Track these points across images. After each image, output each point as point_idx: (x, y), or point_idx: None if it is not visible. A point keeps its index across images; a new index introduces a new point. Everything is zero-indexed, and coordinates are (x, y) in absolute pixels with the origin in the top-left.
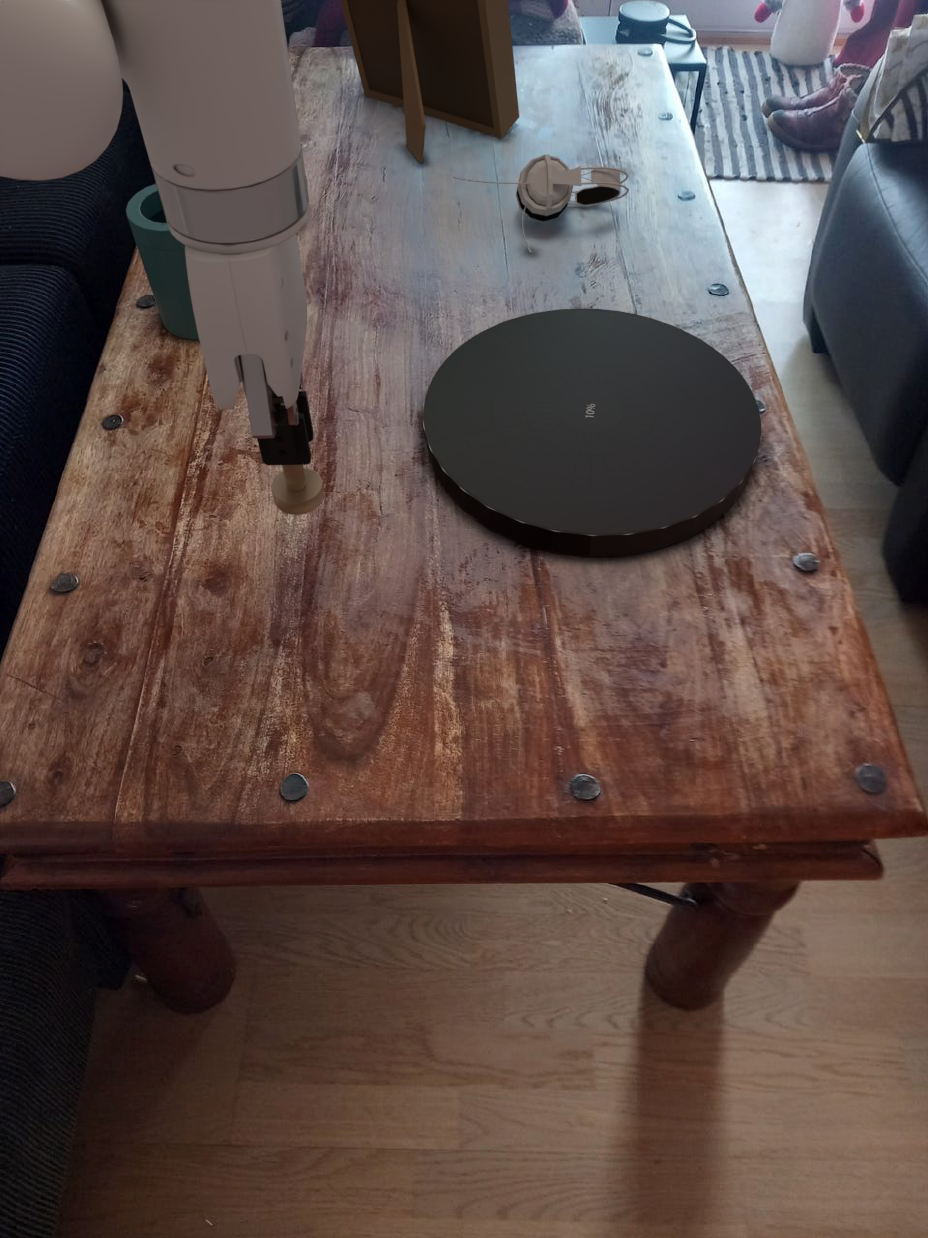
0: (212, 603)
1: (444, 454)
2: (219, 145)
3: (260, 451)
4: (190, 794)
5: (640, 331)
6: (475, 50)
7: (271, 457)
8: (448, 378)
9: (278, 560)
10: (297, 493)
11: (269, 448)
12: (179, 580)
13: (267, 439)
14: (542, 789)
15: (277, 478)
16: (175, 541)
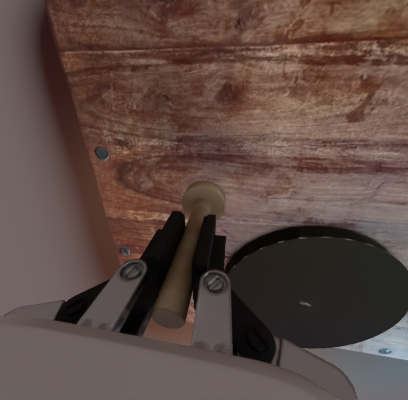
0: (209, 93)
1: (293, 244)
2: None
3: (167, 220)
4: (86, 99)
5: (360, 333)
6: None
7: (156, 231)
8: (369, 254)
9: (241, 137)
10: (193, 206)
11: (151, 240)
12: (232, 60)
13: (145, 250)
14: (121, 240)
15: (210, 191)
16: (275, 47)
